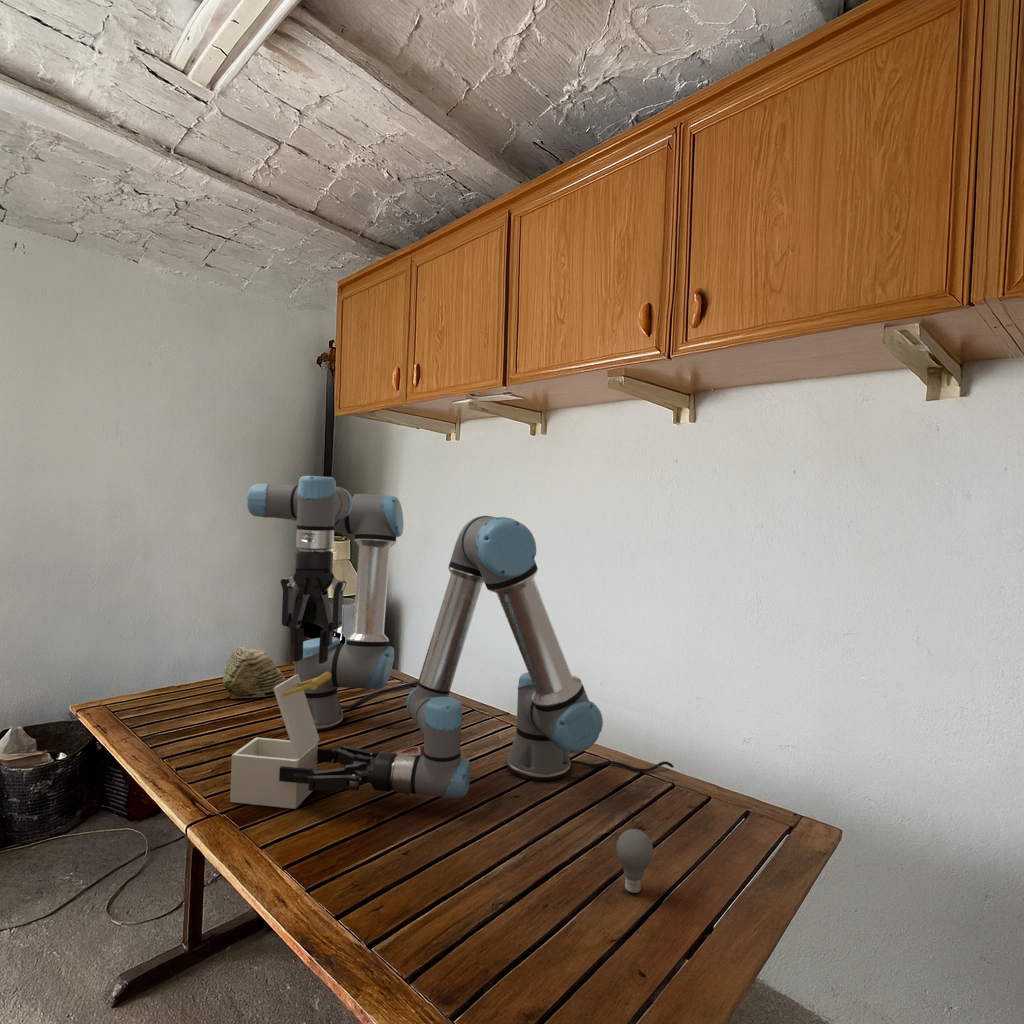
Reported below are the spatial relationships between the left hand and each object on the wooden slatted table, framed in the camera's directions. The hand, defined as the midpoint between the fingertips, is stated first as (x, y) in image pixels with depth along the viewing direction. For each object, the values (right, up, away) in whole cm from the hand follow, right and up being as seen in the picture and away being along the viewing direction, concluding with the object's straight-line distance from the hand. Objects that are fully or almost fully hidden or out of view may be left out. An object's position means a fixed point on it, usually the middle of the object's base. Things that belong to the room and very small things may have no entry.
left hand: (310, 660), depth 133 cm
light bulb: (+62, -32, -27) cm, 75 cm away
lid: (-3, -12, 0) cm, 12 cm away
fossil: (-38, -26, +65) cm, 80 cm away
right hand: (-4, -22, +1) cm, 22 cm away
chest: (-8, -29, +1) cm, 30 cm away
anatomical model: (+14, -29, +16) cm, 36 cm away
